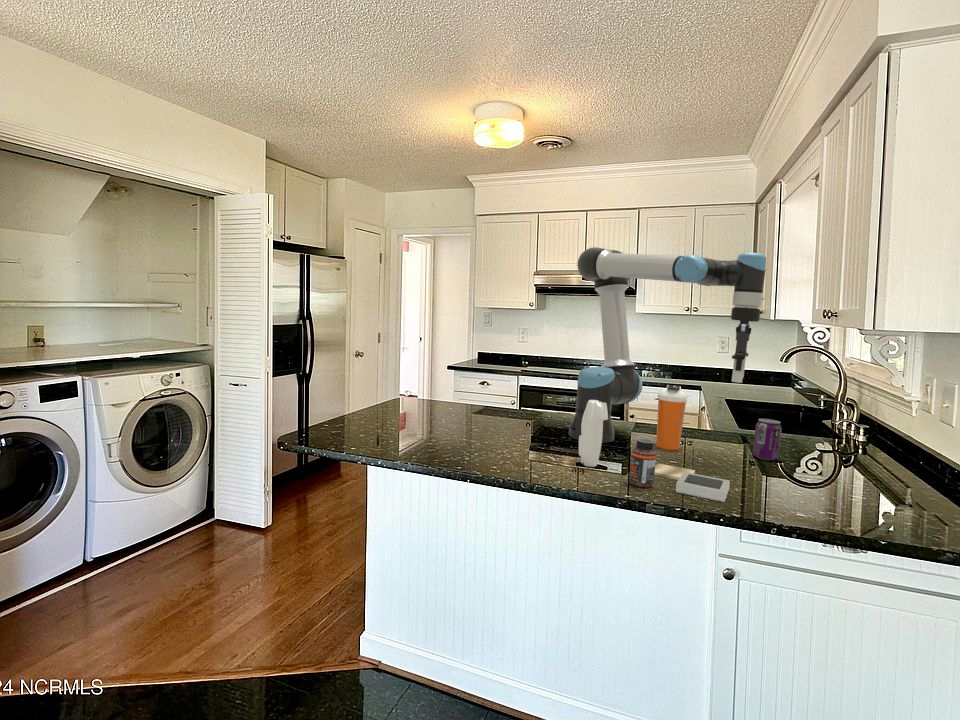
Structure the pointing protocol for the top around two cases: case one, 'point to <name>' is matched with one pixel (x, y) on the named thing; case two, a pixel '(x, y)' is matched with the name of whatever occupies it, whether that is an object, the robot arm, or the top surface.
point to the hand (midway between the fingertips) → (737, 379)
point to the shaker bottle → (670, 417)
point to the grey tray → (703, 486)
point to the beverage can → (767, 439)
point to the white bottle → (592, 432)
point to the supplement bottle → (642, 464)
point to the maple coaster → (670, 471)
